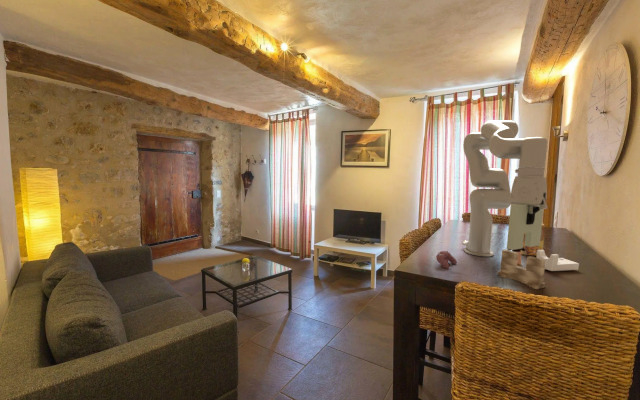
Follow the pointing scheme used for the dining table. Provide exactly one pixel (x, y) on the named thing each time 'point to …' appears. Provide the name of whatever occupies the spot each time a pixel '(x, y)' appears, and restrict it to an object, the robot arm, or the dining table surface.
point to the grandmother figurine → (519, 255)
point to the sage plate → (523, 227)
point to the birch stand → (522, 269)
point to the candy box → (534, 249)
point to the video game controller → (445, 259)
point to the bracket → (556, 262)
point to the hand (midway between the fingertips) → (525, 223)
